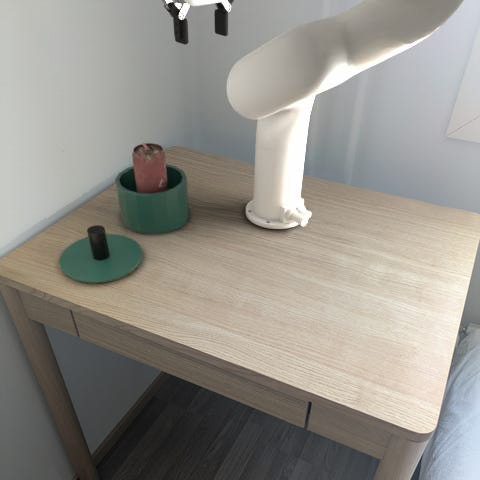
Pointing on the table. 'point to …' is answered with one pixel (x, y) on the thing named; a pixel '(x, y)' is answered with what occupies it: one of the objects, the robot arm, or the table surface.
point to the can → (150, 168)
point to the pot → (153, 203)
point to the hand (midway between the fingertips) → (202, 38)
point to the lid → (100, 256)
